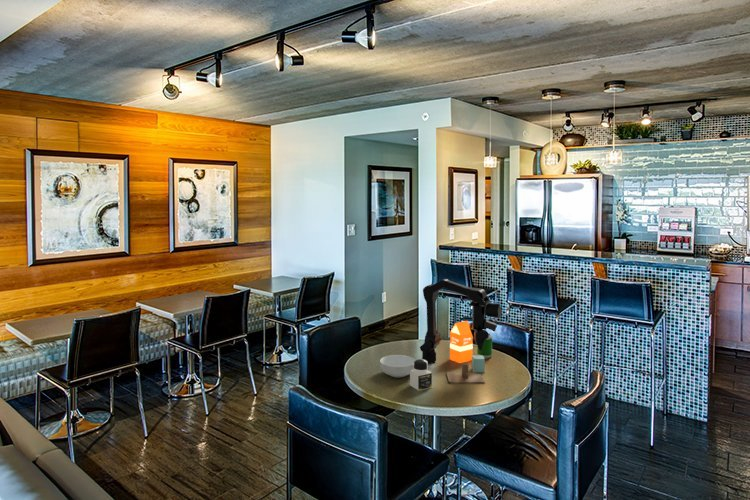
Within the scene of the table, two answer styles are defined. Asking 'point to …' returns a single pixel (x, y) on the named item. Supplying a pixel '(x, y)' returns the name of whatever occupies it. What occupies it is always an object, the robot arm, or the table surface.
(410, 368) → the cereal bowl
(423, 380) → the medicine bottle
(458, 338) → the orange juice
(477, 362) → the pale teal block
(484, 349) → the soda can
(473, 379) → the wooden base plate
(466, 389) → the table surface
